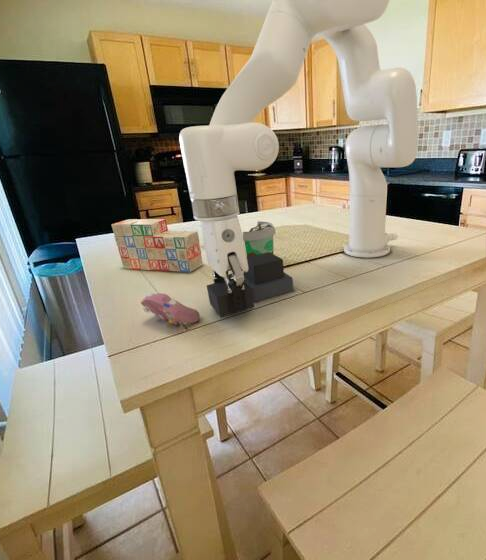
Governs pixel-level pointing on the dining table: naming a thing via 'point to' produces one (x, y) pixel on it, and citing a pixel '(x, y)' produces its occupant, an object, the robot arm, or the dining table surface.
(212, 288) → the black pad
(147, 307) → the pink toy car
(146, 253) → the stack of blocks
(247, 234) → the food container
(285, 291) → the base pad
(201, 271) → the dining table surface
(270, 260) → the charcoal pad
